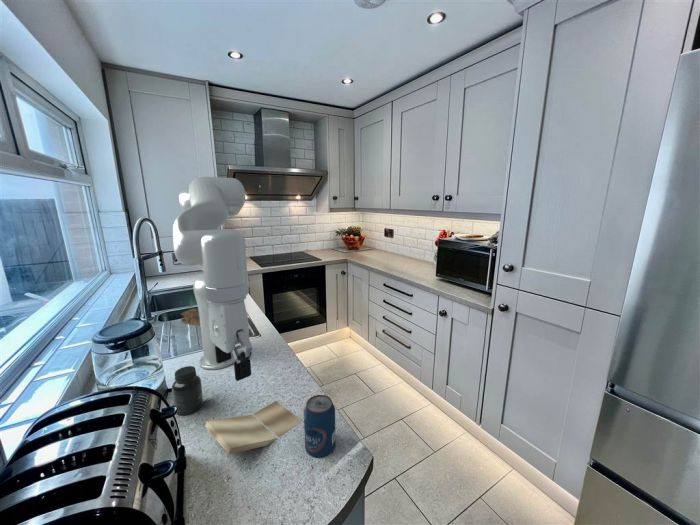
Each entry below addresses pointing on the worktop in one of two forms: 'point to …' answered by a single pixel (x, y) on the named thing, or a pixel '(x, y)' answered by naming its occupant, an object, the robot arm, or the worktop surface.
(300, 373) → the worktop surface
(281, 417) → the laid board
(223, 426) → the plank
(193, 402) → the supplement bottle
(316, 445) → the soda can
